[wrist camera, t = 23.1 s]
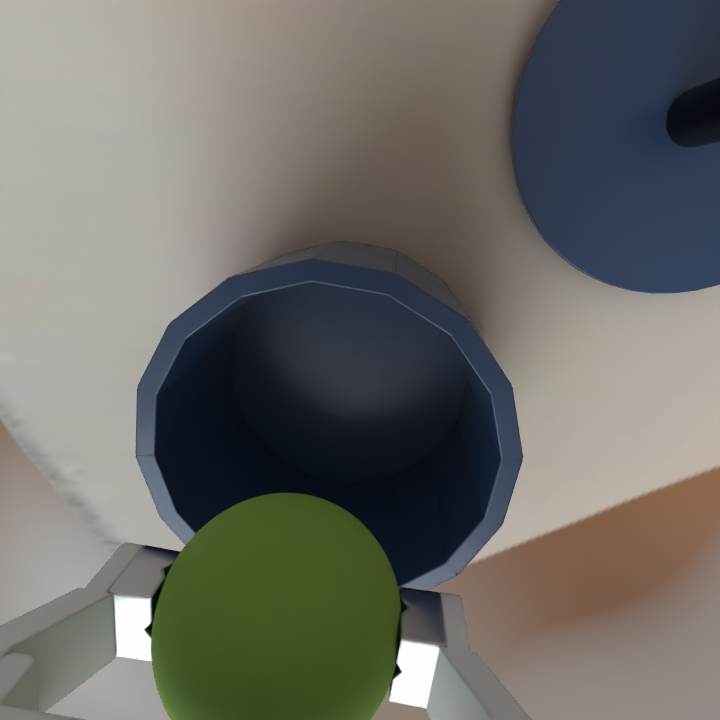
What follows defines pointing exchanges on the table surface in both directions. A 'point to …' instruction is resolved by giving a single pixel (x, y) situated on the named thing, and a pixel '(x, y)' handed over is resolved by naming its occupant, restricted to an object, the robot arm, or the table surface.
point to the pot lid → (625, 141)
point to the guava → (277, 616)
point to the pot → (335, 406)
